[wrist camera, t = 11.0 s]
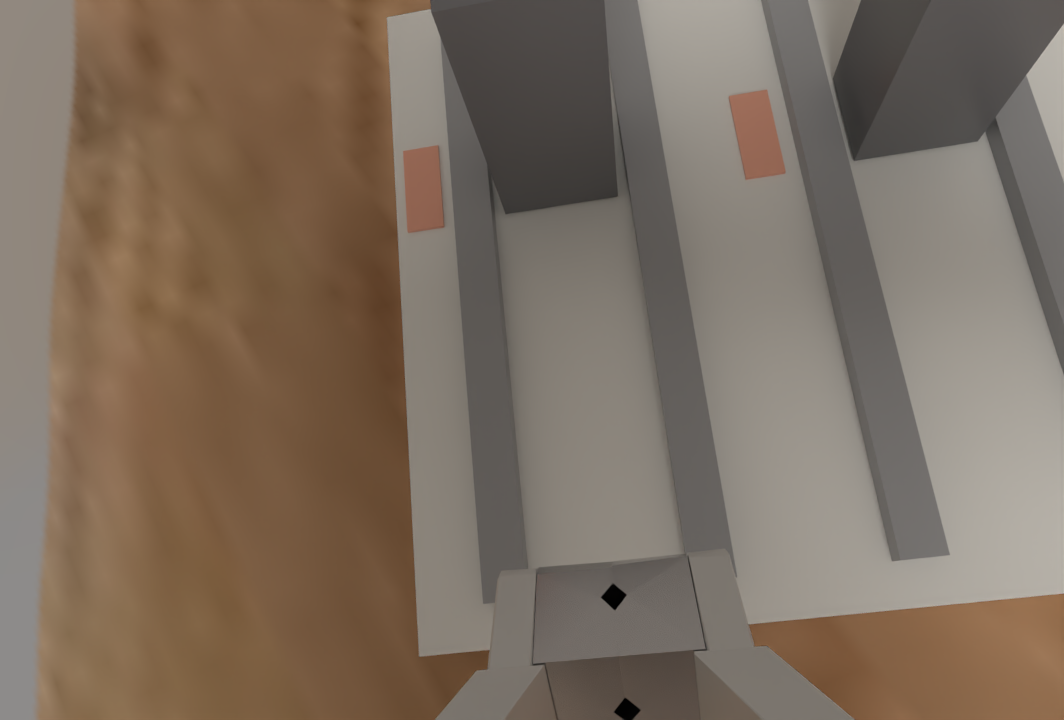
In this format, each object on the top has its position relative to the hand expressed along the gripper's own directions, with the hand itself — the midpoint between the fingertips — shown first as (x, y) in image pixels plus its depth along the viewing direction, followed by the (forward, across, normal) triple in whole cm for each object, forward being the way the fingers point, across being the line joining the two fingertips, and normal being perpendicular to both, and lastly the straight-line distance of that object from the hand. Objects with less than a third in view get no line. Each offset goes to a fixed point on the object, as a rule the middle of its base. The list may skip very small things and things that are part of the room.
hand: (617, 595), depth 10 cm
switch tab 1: (+13, +1, -3) cm, 13 cm away
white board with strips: (+12, -4, +1) cm, 13 cm away
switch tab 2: (+13, -8, -3) cm, 16 cm away
